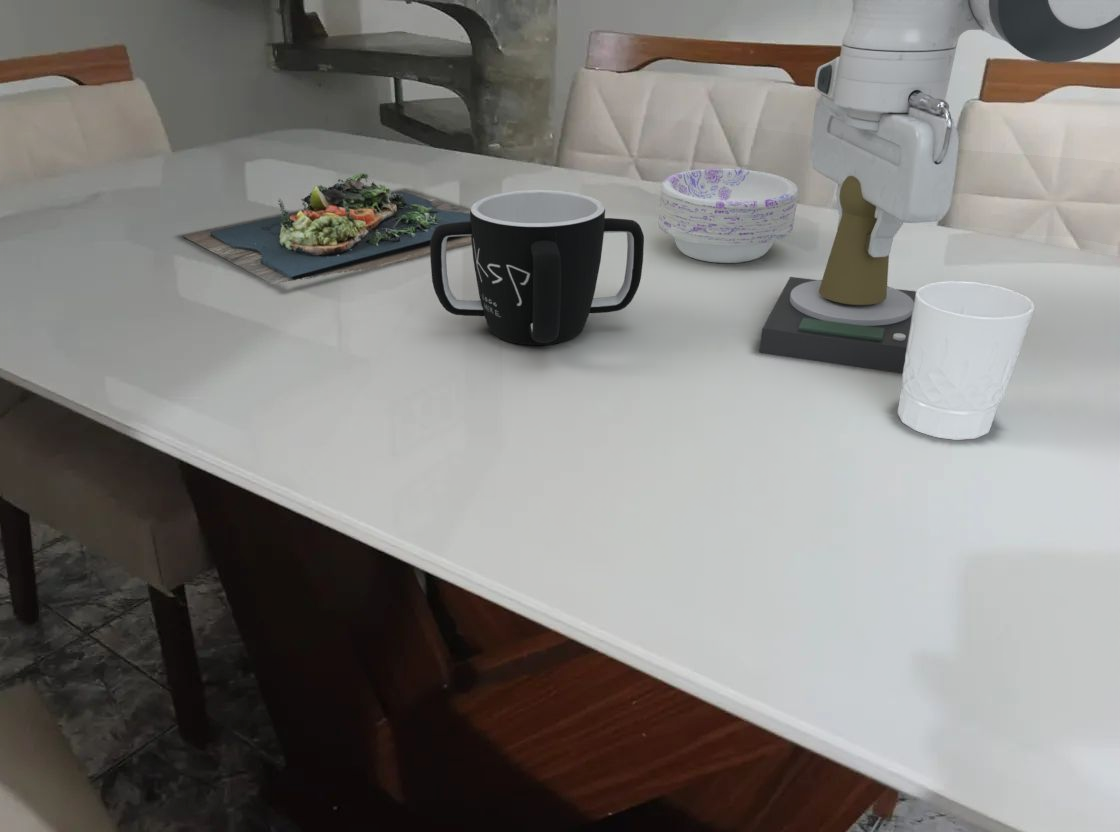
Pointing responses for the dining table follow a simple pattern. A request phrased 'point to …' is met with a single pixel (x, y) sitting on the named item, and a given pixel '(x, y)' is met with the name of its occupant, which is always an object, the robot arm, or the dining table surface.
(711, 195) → the paper bowls
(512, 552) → the dining table surface
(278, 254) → the plated dish
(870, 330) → the kitchen scale
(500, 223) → the mug
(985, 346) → the white cup
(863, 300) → the olive pawn figure
